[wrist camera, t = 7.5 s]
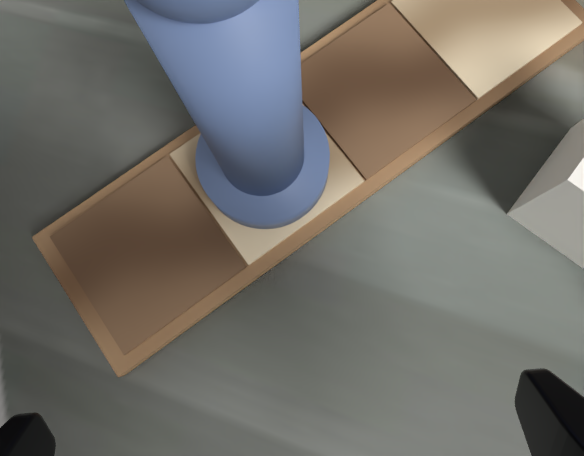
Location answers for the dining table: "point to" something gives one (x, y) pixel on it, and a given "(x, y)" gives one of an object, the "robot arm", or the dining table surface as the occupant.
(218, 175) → the pawn
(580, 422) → the robot arm
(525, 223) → the white block
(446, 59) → the board
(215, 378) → the dining table surface
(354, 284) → the dining table surface
